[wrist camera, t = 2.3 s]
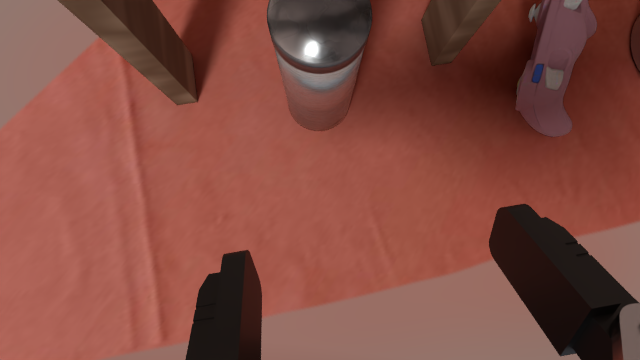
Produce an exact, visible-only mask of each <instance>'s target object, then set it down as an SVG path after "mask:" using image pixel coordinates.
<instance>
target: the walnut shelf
mask: <svg viewBox="0 0 640 360" xmlns="http://www.w3.org/2000/svg"><path fill="white" fill-rule="evenodd" d="M58 1H59V2H60V3H61V4H62V5H64V6H65V7H66V8H67V9H68V10H69V11H70V12H72V13H73V14H74V15H75V16H76V17H77V18H78V19H80V20H81V21H82V22H83V23H84V24H85V25H86V26H88V27H89V28H90V29H91V30H92V31H93V32H94V33H96V34H97V35H98V36H99V37H100V38H101V39H102V40H103V41H105V42H106V43H107V44H108V45H109V46H110V47H111V48H113V49H114V50H115V51H116V52H117V53H118V54H119V55H121V56H122V57H123V58H124V59H125V60H126V61H127V62H129V63H130V64H131V65H132V66H133V67H134V68H135V69H137V70H138V71H139V72H140V73H141V74H142V75H143V76H145V77H146V78H147V79H148V80H149V81H150V82H151V83H153V84H154V85H155V86H156V87H157V88H158V89H159V90H161V91H162V92H163V93H164V94H165V95H166V96H167V97H169V98H170V99H171V100H172V101H173V102H174V103H175V104H177V105H181V104H187V103H194V102H197V93H196V85H195V77H194V68H193V60H192V54H191V53H190V51H189V50H188V49H187V47H186V46H185V45H184V43H183V42H182V40H181V39H180V38H179V36H178V35H177V34H176V32H175V31H174V29H173V28H172V27H171V25H170V24H169V23H168V21H167V20H166V18H165V17H164V16H163V14H162V13H161V12H160V10H159V9H158V7H157V6H156V5H155V3H154V2H153V1H152V0H58ZM500 1H501V0H431V2H430V4H429V6H428V8H427V10H426V12H425V14H424V16H423V18H422V20H421V21H422V25H423V30H424V34H425V39H426V43H427V47H428V52H429V56H430V61H431V65H432V66H433V65H439V64H446V63H451V62H452V61H453V60H454V58H455V57H456V56H457V55H458V53H459V52H460V51H461V50H462V48H463V47H464V46H465V45H466V43H467V42H468V41H469V40H470V38H471V37H472V36H473V35H474V33H475V32H476V31H477V30H478V28H479V27H480V26H481V25H482V23H483V22H484V21H485V20H486V18H487V17H488V16H489V15H490V13H491V12H492V11H493V10H494V8H495V7H496V6H497V5H498V4H499V2H500Z"/></svg>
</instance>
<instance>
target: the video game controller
mask: <svg viewBox="0 0 640 360" xmlns="http://www.w3.org/2000/svg"><path fill="white" fill-rule="evenodd" d="M535 6H536V4H534V5H533V6H532V8H531V9H530V12H529V20H530V22H532V19H533V17H534V18H535V22H536V25H537V34H536V38H535V42H534V46H533V51H532V55H531V60H528V61H527V64H526V67H525V70H524V73H523V75H522V76H521V77H520V79H519V80H518V83H517V92H516V94H517V100H516V108H515V110H518V111H520V113H521V114H522V116H523V117H524V119H525V120H526V121H527V123H528V124H529V125H530V126H531V127H532V128H533V129H535V130H536V131H538V132H539V133H542V134H544V135H546V136H550V137H557V136H562V135H565V134H567V133H569V132H570V131H571V129H572V121H571V119H570V118H569V116H568V114H567V113H566V111H565V108H564V106H563V96H564V93H565V91H566V88H567V85H568V83H569V80H570V77H571V73H572V69H573V66H574V63H575V61H576V60H577V58H578V57H579V55H580V54H581V52H582V50H583V48H584V46H585V43H586V40H587V39H588V38H590V37H591V36H592V35H593V34H594V33H595V32H596V28H597V21H596V18H595V16H594V14H593V12H592V10H591V9H590V7H589V3H588V0H542V2H541V3H540V4H539V5H538V7H537V8H536V9H535Z"/></svg>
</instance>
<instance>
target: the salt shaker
mask: <svg viewBox="0 0 640 360" xmlns="http://www.w3.org/2000/svg"><path fill="white" fill-rule="evenodd" d="M267 23H268V27H269V31H270V35H271V39H272V42H273V45H274V47H275V52H276V56H277V60H278V64H279V68H280V72H281V77H282V81H283V85H284V89H285V93H286V97H287V102H288V106H289V110H290V113H291V115H292V117H293V118H294V119H295V121H296V122H297V123H298V124H300V125H301V126H302V127H304V128H306V129H309V130H313V131H325V130H329V129H331V128H333V127H335V126H337V125H338V124H339V123H340V122H341V121H342V120H343V119H344V118H345V116H346V114H347V112H348V109H349V105H350V101H351V97H352V93H353V89H354V85H355V82H356V78H357V74H358V70H359V66H360V62H361V59H362V55H363V51H364V47H365V45H366V43H367V39H368V36H369V32H370V28H371V23H372V8H371V4H370V0H270V1H269V4H268V8H267Z"/></svg>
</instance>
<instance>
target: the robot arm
mask: <svg viewBox="0 0 640 360" xmlns="http://www.w3.org/2000/svg"><path fill="white" fill-rule="evenodd" d="M631 50H632V55H633V58H634V61H635V63H636V65H637V68H638V69H639V71H640V15H639V16H638V18H637V20H636V22H635V24H634V26H633V30H632V33H631ZM489 248H490V252H491V254H492V257H493V258H494V260H495V261H496V263H497V264H498V266H499V267H500V269H501V270H502V272H503V273H504V275H505V276H506V278H507V279H508V281H509V282H510V283H511V285H512V286H513V288H514V289H515V291H516V292H517V293H518V295H519V297H520V298H521V300H522V301H523V302H524V304H525V305H526V307H527V308H528V310H529V311H530V313H531V314H532V316H533V317H534V318H535V320H536V321H537V323H538V324H539V326H540V327H541V329H542V330H543V332H544V333H545V335H546V336H547V338H548V339H549V340H550V342H551V343H552V345H553V346H554V348H555V349H556V351H557V352H558V354H559V355H560V356H564V355H570V354H575V353H577V355H578V356H579V357H580V359H581V360H640V303H639V302H638V301H637V300H635V299H634V298H633V297H632V296H631V295H630V294H629V293H628V292H627V291H626V290H625V289H624V288H623V287H622V286H621V285H620V284H619V283H618V282H617V281H616V280H615V279H614V278H613V277H612V276H611V275H610V274H609V273H608V272H607V271H606V270H605V269H604V268H603V267H602V266H601V265H600V264H599V262H597V260H596V259H595V258H593V256H592V255H591V256H590V255H589V254H588V251H587V250H586V249H585V248H583V246H581V244H578V243H577V240H576V239H575V238H574V237H573V236H572V235H571V234H570V233H569V232H568V231H567V230H566V229H565V228H564V227H562V226H560V225H559V224H557V223H555V222H553V221H552V220H550V219H548V218H547V217H545V218H541V217H540V216H539V215H538V214H537V213H536V212H535V211H534V210H533V209H532V208H531V207H530V206H529V205H527V204H520V205H514V206H508V207H502V208H499V209H498V211H497V214H496V217H495V221H494V224H493V228H492V232H491V235H490V239H489ZM193 322H194V323H193V324H192V329H191V334H190V340H189V345H188V350H187V355H186V360H261V322H262V291H261V284H260V280H259V277H258V274H257V271H256V268H255V266H254V263H253V260H252V257H251V255H250V252H249V251H248V250H245V251H239V252H233V253H227V254H224V255H223V258H222V264H221V271H220V272H219V273H213V274H209V275H208V276H207V278H206V279H205V281H204V283H203V284H202V286H201V288H200V289H199V293H198V298H197V303H196V310H195V314H194V319H193Z"/></svg>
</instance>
